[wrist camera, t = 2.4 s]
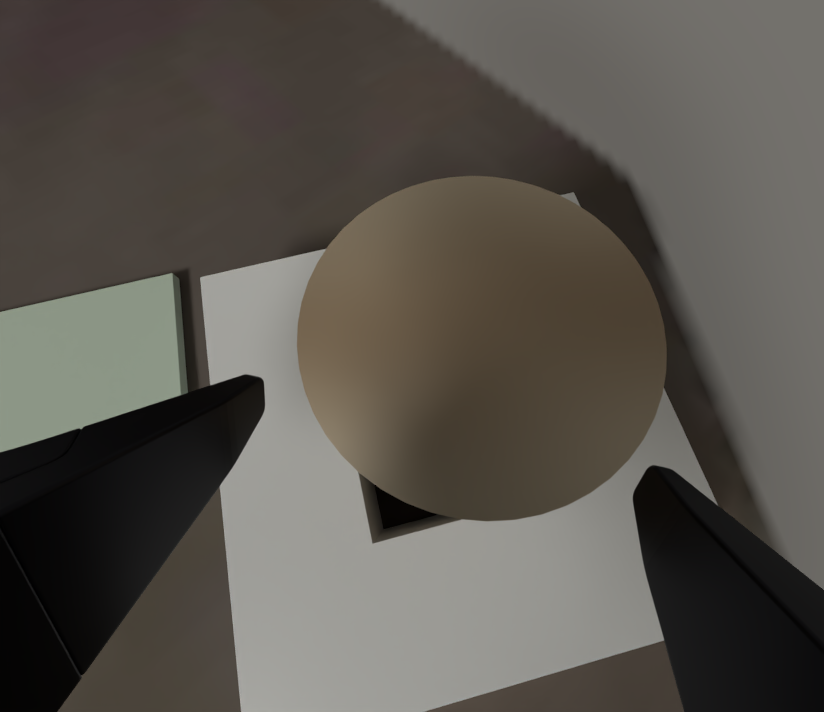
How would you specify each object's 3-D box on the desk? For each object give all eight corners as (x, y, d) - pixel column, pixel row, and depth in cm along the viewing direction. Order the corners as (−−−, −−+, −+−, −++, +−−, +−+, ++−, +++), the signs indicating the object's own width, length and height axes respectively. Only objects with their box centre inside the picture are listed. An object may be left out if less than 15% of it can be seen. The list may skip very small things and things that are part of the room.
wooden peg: (508, 475, 17) (736, 461, 5) (397, 504, 17) (333, 571, 4) (475, 368, 19) (583, 147, 6) (372, 394, 18) (273, 215, 6)
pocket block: (682, 578, 16) (766, 610, 12) (290, 691, 15) (246, 764, 11) (545, 245, 21) (574, 192, 17) (242, 316, 20) (200, 277, 16)
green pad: (193, 472, 17) (186, 472, 17) (-38, 531, 17) (-54, 533, 16) (179, 278, 20) (172, 273, 20) (-18, 323, 20) (-31, 319, 19)
